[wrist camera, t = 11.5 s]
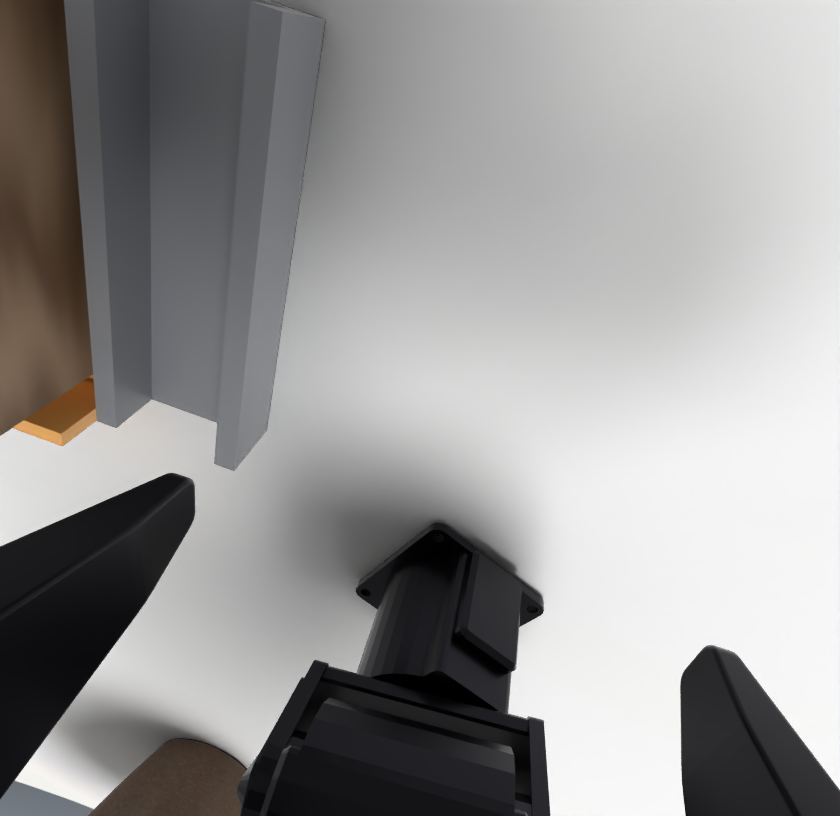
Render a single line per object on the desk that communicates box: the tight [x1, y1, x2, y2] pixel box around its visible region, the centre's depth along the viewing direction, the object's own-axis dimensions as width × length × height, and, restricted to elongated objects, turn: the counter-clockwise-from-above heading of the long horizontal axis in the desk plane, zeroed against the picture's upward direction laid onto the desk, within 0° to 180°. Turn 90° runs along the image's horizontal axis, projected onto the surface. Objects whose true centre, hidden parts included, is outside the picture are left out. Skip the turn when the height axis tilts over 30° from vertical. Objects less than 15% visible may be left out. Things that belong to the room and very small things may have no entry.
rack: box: [13, 0, 326, 471], centre depth 18 cm, size 15×15×4 cm
